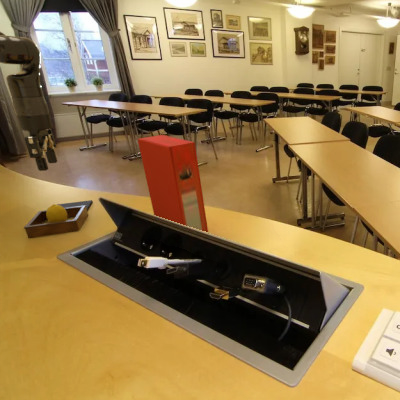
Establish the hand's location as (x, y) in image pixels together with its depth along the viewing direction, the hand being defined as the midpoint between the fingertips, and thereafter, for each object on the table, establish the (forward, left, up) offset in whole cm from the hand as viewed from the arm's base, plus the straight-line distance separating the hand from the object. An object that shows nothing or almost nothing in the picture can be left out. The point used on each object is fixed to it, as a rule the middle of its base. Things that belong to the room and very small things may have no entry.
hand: (48, 166), depth 99 cm
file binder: (+35, -19, -23) cm, 46 cm away
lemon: (-4, +7, -23) cm, 24 cm away
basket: (-4, +7, -23) cm, 24 cm away
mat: (-4, +22, -23) cm, 32 cm away
